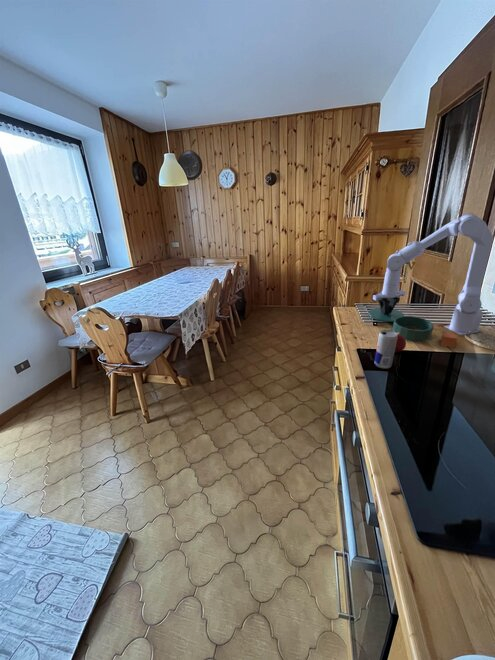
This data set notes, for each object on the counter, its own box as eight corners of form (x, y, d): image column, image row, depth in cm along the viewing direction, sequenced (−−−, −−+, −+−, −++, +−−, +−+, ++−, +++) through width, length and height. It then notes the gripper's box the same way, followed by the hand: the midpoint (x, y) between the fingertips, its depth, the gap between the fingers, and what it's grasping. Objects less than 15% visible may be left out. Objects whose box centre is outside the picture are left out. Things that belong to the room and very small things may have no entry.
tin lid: (388, 307, 133) (389, 297, 130) (411, 319, 120) (414, 308, 118) (361, 312, 130) (362, 302, 127) (382, 325, 117) (384, 314, 115)
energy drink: (377, 358, 99) (382, 328, 93) (393, 363, 96) (400, 332, 90) (372, 365, 95) (377, 334, 90) (388, 371, 92) (395, 339, 87)
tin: (411, 324, 120) (414, 313, 118) (438, 338, 108) (441, 327, 106) (384, 330, 117) (386, 319, 115) (409, 345, 105) (412, 333, 103)
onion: (405, 357, 99) (410, 337, 95) (388, 356, 100) (392, 336, 96) (401, 348, 104) (405, 329, 100) (384, 347, 105) (388, 328, 101)
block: (440, 341, 107) (443, 331, 105) (453, 343, 105) (456, 333, 103) (440, 345, 104) (443, 336, 102) (453, 348, 102) (456, 338, 100)
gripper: (399, 278, 123) (393, 307, 129) (370, 283, 120) (366, 312, 126) (411, 283, 117) (405, 313, 123) (381, 288, 114) (376, 318, 120)
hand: (386, 313), depth 124 cm, fingers closed on tin lid, 2 cm apart
